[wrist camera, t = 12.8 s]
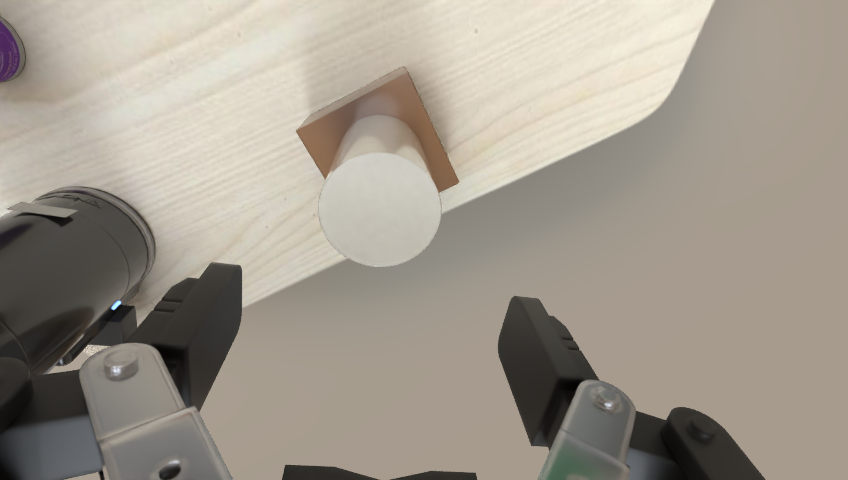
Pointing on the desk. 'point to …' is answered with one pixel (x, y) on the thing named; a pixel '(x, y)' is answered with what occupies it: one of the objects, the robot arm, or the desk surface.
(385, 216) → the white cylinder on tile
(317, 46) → the desk surface
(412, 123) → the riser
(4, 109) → the desk surface
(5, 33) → the container
